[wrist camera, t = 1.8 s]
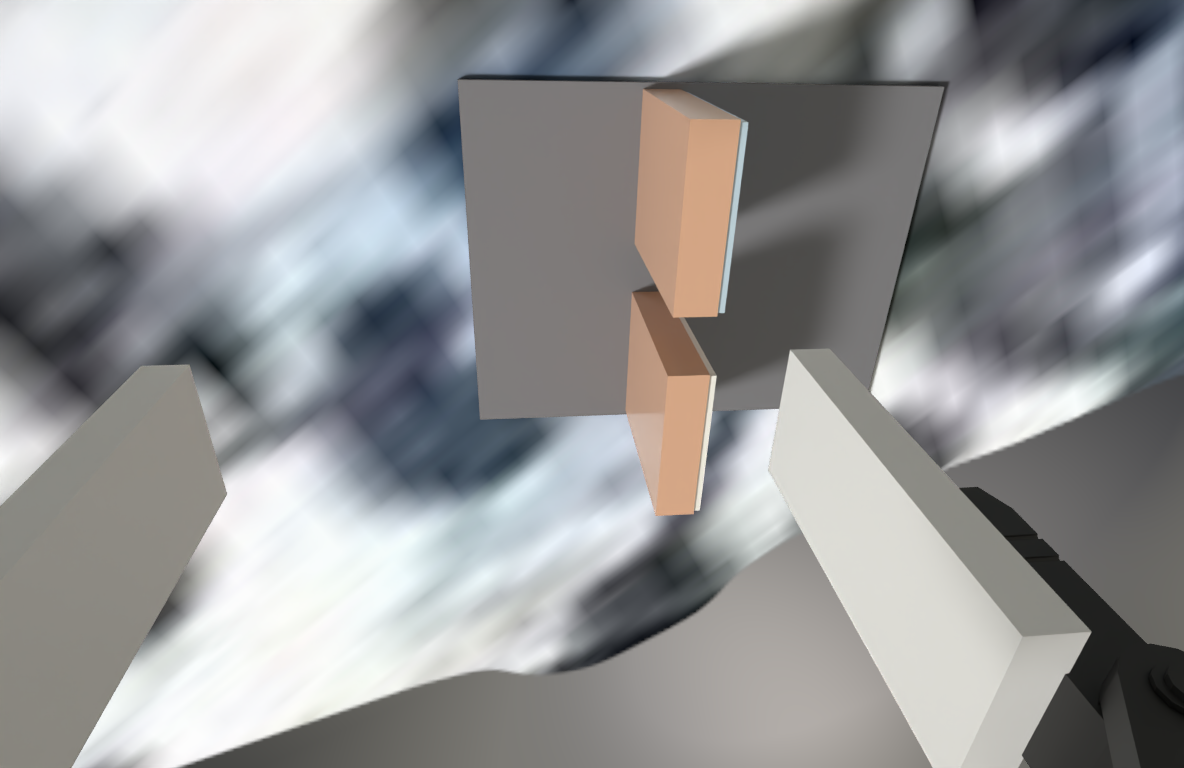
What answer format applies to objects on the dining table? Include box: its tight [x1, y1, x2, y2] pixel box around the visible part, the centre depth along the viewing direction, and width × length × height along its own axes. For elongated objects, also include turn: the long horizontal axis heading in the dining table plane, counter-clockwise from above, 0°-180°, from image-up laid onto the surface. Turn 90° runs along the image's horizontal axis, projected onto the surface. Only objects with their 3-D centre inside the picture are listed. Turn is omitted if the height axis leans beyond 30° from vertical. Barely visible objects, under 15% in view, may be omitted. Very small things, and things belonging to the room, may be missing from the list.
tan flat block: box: [626, 292, 717, 516], centre depth 33 cm, size 7×2×9 cm, turn 178°
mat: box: [458, 79, 944, 420], centre depth 35 cm, size 17×22×1 cm
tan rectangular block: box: [635, 89, 749, 318], centre depth 28 cm, size 7×2×9 cm, turn 179°
